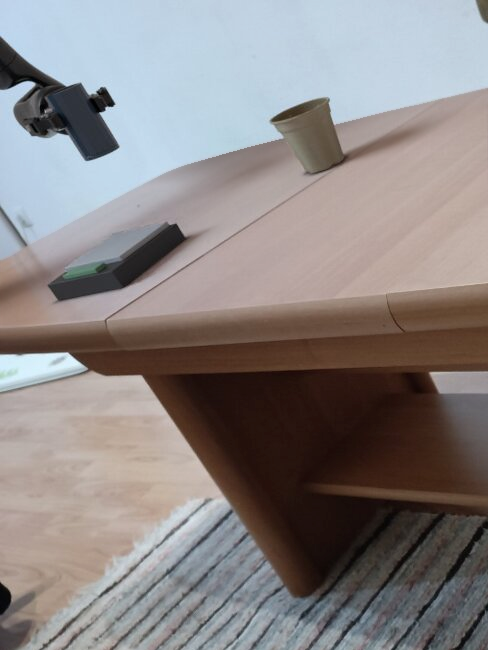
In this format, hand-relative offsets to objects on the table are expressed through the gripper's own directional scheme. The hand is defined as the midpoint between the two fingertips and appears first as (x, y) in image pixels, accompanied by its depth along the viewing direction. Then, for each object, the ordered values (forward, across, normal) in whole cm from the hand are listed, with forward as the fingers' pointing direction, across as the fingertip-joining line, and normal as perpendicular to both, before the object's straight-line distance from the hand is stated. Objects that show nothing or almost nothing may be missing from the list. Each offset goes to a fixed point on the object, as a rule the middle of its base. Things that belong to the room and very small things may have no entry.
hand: (79, 112), depth 131 cm
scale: (+23, -9, +17) cm, 31 cm away
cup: (-2, 0, +6) cm, 7 cm away
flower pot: (+23, +24, +17) cm, 37 cm away
